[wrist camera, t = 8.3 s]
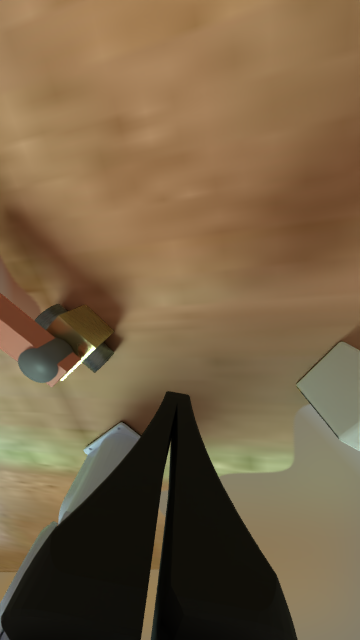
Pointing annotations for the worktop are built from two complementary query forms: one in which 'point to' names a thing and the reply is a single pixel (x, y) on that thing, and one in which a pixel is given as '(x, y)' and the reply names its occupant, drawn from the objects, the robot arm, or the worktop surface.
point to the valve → (79, 334)
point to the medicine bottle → (337, 392)
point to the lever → (33, 346)
